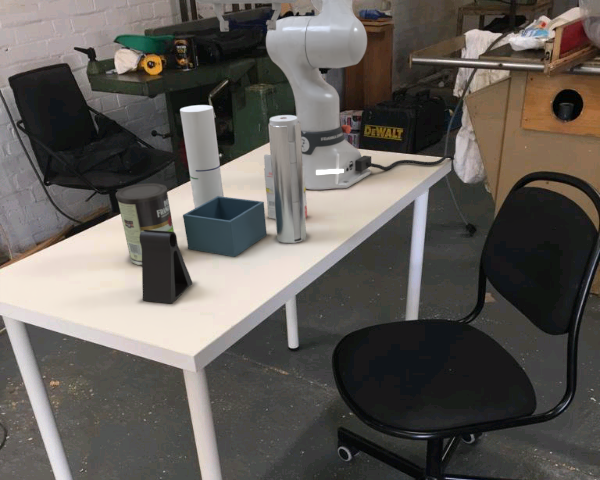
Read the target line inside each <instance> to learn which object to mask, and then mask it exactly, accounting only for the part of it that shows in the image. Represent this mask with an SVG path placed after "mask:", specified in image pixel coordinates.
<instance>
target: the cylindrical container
mask: <svg viewBox="0 0 600 480" xmlns="http://www.w3.org/2000/svg"><path fill="white" fill-rule="evenodd" d="M179 113H180V119H181V127H182V132H183V139H184V145H185V152H186V160H187V165H188V172H189V180H190V185H191V193H192V198H193V205H194V209H195V208H197V207H199V206H200V205H202V204H204V203H206V202H208V201H210V200H212V199H213V198H215V197H217V196H221V197H225V196H224V195H225V194H224V187H223V180H222V179H223V178H222V170H221V164H220V155H219V148H218V147H219V145H218V140H217V139H218V138H217V132H216V130H217V129H216V122H215V114H214V107H213V106H212V105H210V104H209V105H208V104H196V105H188V106H184V107H181V108H180V109H179Z"/></svg>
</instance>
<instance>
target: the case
mask: <svg viewBox="0 0 600 480" xmlns="http://www.w3.org/2000/svg"><path fill="white" fill-rule="evenodd" d="M265 210H266V209H265V201H262V200H253V199H245V198H237V197H229V196H224V197H221V196H217V197H215V198H213V199H212V200H210V201H208V202H206V203H204V204H202V205H200V206H199V207H197V208H195V207H194V208H193V209H191V210H189V211H187V212H186V213H184V214H182V218H183V226H184V232H185V237H186V238H185V239H186V244H187V249H188V250H193V251H197V252H198V251H199V252H204V253H209V254H217V255H221V256H227V257H233V258H235V257H237V256H239V255H240V254H241V253H243V252H244V251H246V250H247V249H248V248H250V247H252V246H253V245H255V244H256V243H257V242H259V241H260V240H262V239H263V238H265V237H266V236H267V234H268V233H267V221H266V213H265V212H266V211H265Z"/></svg>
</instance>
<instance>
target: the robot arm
mask: <svg viewBox="0 0 600 480" xmlns="http://www.w3.org/2000/svg"><path fill="white" fill-rule="evenodd" d="M297 1H298V0H195V2H196V3H197V4H198V5H212V10H213V13H214V14H215V16H216V17H217V20H218V21H219V29H220V32H230V27H229V23H230V22H229V20H225V19H224V18H223V16H222V14H221V11H222V10H223V6H222V4H223V5H225V4H226V5H227V4H229V5H230V4H232V5H233V4H271V9H272V10H273V11H274V12H273V14H272V16H271V19H267V20H266V29H267V31H266V32H267V33H266V36H265V47H266V52H267V55H268V56H269V58H270V60H271V62H273V63H274V64H275V65H276V66H277V67H278V68H279V69H280V70H281V71H282V73H283V74H284V76H285V77H286V79H287V81H288V83H289V85H290V87H291V90H292V94H293V97H294V103H295V104H294V105H295V116H296V117H297V118H298V121H300V123H301V142H302V162H303V167H304V168H305V185H306V190H315V191H317V190H330V189H331V190H332V189H348V188H350V187H351V186H353V185H354V184H356V183H358V182H360V181H361V180H363V179H364V178H366V177H368V176H370V175H371V174H372V170H371V169H370V168H376V169H380V170H382V171H389V170H391V169H393V168H394V167H395V166H398V165H401V164H403V165H404V164H413V165H419V166H437V165H440V164H441V163H443V162H444V161H445V160H446V159H449V160H451V161H452V160H453V161H454V160H455V157H454V156H453V155H452V154H449V153H447V154H445V155H444V156H442V157H441V158H440V159H438V160H436V161H435V160H434V161H422V160H415V159H400V160H396V161H393V162H392V163H391V164H390V165H387V166H384V165H381V164H378V163H374V162H373V163H372V155H362V153H361V151H360V150H359V149H358V148H357V147H356V146H353V144H351V143H350V142H348V141H347V140H346V137H345V134H350V133H351V131H352V126H351V125H350V124H347V125H346V124H342V125H341V123H340V122H341V121H340V120H341V119H340V118H341V117H340V116H341V115H340V96H339V93H338V91H337V89H336V88H335V87H334V86H333V85H331V84H330V83H328V82H327V81H325V79H324V78H323V76H322V75H321V72H320V69H341V68H346V67H351V66H355V65H357V64H359V63H360V62H361V60H362V59H363V58H364V56H365V53H366V51H367V46H368V36H367V35H368V34H367V31H366V29H365V26H364V24H363V22H361V20H360V19H359V18H358V17H357V16H356V15H355V13H354V11H353V1H354V0H309V2H310V3H311V5H312V6H313V7H314V8H315V9H316V10H317V11H318V14H316V15H300V16H299V15H298V16H297V15H296V16H295V15H294V16H287V17H283V18H281V19H279V16H280V14H281V11H282V4H295V3H297ZM344 133H345V134H344Z"/></svg>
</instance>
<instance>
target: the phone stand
mask: <svg viewBox="0 0 600 480" xmlns="http://www.w3.org/2000/svg"><path fill="white" fill-rule="evenodd" d="M140 244H141V248H142V265H141V272H142V273H141V280H142V281H141V283H142V285H141V286H142V288H141V289H142V301H145V302H153V303H164V304H173V303H174V302H176V301H177V300H178V299H179V297H180V296H182V294H184V293H185V292H186V291H187V290H188V289H189V288H190V287H191V286H192V285H193V280H192V277H191V275H190V272H189V270H188V268H187V265H186V263H185V260H184V258H183V256H182V252H181V250H180V247H179V243H178V238H177V234H176V232H175V231H174V232H170V231H155V230H144V232H141V233H140Z"/></svg>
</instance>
